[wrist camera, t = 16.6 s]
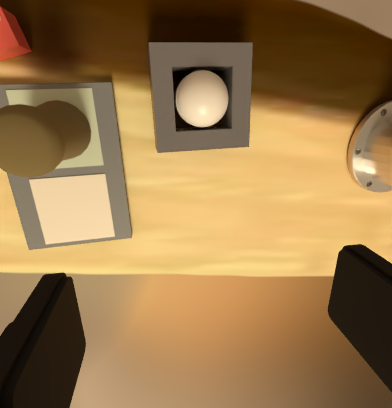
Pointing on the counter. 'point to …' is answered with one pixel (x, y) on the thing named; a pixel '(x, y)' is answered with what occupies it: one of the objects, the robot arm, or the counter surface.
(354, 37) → the counter surface
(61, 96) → the game board
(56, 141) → the brown pepper mill
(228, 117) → the gray square holder
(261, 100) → the counter surface
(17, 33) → the red die
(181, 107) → the cream white ball
